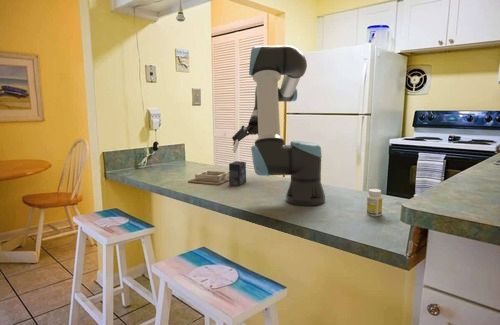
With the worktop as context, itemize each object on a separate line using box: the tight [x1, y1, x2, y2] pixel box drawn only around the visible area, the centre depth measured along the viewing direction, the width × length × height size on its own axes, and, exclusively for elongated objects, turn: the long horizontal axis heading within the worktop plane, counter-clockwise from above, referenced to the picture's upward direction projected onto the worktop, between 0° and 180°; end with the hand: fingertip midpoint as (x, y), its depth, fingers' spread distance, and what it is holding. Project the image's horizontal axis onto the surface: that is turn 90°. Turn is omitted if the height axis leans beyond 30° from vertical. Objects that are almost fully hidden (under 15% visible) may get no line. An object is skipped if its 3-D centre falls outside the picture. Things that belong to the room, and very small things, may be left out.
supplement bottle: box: [366, 188, 383, 217], centre depth 113 cm, size 5×5×8 cm
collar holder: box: [187, 170, 229, 186], centre depth 171 cm, size 18×18×4 cm
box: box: [228, 160, 247, 187], centre depth 161 cm, size 8×6×11 cm
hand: (245, 151), depth 169 cm, fingers open, 13 cm apart
